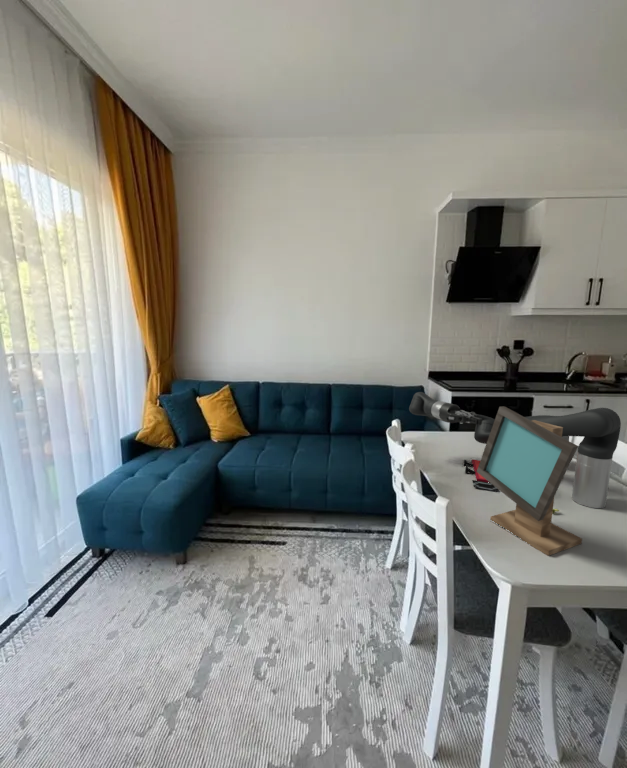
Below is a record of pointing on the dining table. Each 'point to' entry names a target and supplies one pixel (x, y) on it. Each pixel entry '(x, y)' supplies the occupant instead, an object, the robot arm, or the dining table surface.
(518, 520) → the framed display stand
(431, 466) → the dining table surface
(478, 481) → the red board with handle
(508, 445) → the picture frame
